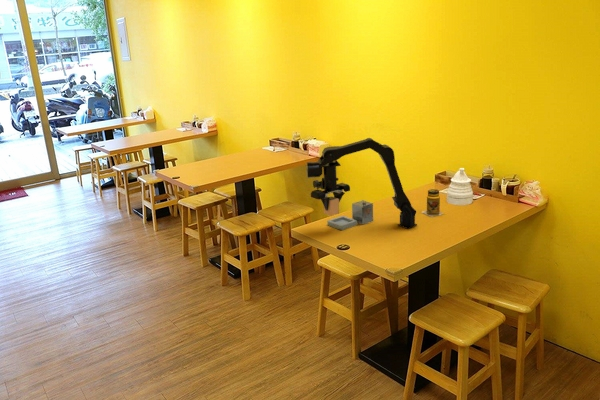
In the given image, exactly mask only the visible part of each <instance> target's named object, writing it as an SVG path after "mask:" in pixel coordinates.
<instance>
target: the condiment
mask: <svg viewBox="0 0 600 400" xmlns="http://www.w3.org/2000/svg"><path fill="white" fill-rule="evenodd" d="M440 196H441V195H440V190H439V189H436V188H435V189H433V188H431V189H429V190H427V196H426V210H424V211H421V213H422V214H425V215H427V216H429V217H437V216H438V217H439V216H441V215H444V213H442V212H441V211H440V210H441V208H440V205H441V203H440V202H441V201H440V200H441V197H440Z"/></svg>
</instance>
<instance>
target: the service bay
mask: <svg viewBox="0 0 600 400" xmlns="http://www.w3.org/2000/svg"><path fill="white" fill-rule="evenodd" d="M327 226H329V227H331V228H334V229H336V230H339V231H343V230H347V229H350V228H352V227H355V226H358V223H357V221H356V220H354V219H352V218H351V217H348V216H345V215H341V216H338V217H334V218H331V219H328V220H327Z"/></svg>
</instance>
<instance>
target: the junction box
mask: <svg viewBox="0 0 600 400" xmlns="http://www.w3.org/2000/svg"><path fill="white" fill-rule="evenodd" d="M351 215H352V216H351V217H352V218H351V219H354V220H356V221H357V224H359V225H362V226H363V225H366V224H368V223H372V222H374V203H373V202H370V201H367V200H363V199H362V200H359V201H356V202H353V203H352V204H351Z"/></svg>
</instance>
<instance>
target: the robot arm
mask: <svg viewBox="0 0 600 400" xmlns="http://www.w3.org/2000/svg"><path fill="white" fill-rule="evenodd" d="M369 149H370V150H372V151H374V152H375V153H377V154H378V156H379V158H380V159H381V161H382V163H383V164H384V165H385V168H386V171H387V174H388V178H389V180H390V183H391V186H392V188H393V189H392V190H393V192H394V196H392V197H391V198H392V200H393V204H394V205H393V206H395V207H396V209H399V211H400V212H399V213H400V214H399V223H398V224H397V226H399V227H402V228H405V229H408V230H409V229H411V228H414V227H417V226H418V223H416V214H417V210H416V209H415V208H414V207H413V206H412V203H411V201H410V199H409V198H408V196H407V194H406V193H405V191H404V188H403V185H402V182H401V180H400V177H399V173H398V170H397V167H396V162H395V161H396V158H395V151H394V149H393V148H392V147H391V146H389V145H387V144H382V143H380V142H377V141H376V140H374V139H373V138H371V137H367V138H366V139H362V140H359V141H354V142H351V143H347V144H344V145H339V146H338V145H336V146H335V145H334V146H327V147H324V148H323V150H322V152H321V156H320V157H319V159H318V160H317V161H307V162H306V171H305V172H306V179H310V178H320V177H321V176H322V175H323V177H322V178H321V180H320V181H319V179H317V180H316V179H315V180H313V181H312V185H313V186H312V187H313V188H316V189H314V190H311V192H310V197H311V198H312V199H315V200H321V202H322V203H321V204H322V205H323V208H324V207H325V210H326V211H328V206H329V197H330V196H328V194H331V193H332V194H333V197H335V198H338V199H339V203H341V200H342V198H343V196H344V195H345V193H347V192H351V186H350V185H349V184H348V183H344V182H340V183H338V181H339V178H338V176H337V167H341V163H340V162H339V161H338V160H339V159H341V158H342V157H344V156H347V155H351V154H354V153H357V152H361V151H365V150H369ZM320 189H321V190H320Z"/></svg>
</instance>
